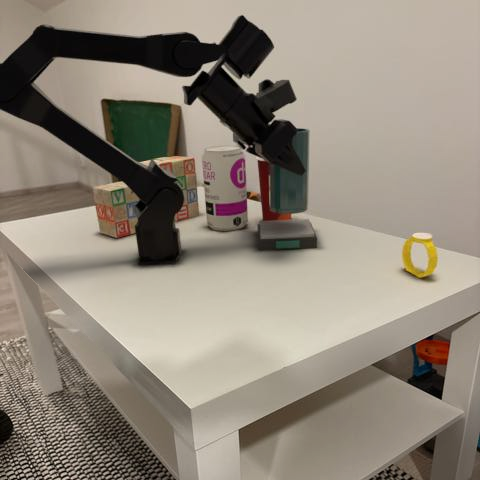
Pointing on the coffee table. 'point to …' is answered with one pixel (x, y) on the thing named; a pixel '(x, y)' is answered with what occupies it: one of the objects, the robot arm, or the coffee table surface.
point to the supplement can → (225, 187)
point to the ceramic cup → (291, 180)
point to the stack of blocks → (124, 199)
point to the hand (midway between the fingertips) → (296, 169)
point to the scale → (286, 234)
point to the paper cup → (267, 193)
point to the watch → (431, 251)
